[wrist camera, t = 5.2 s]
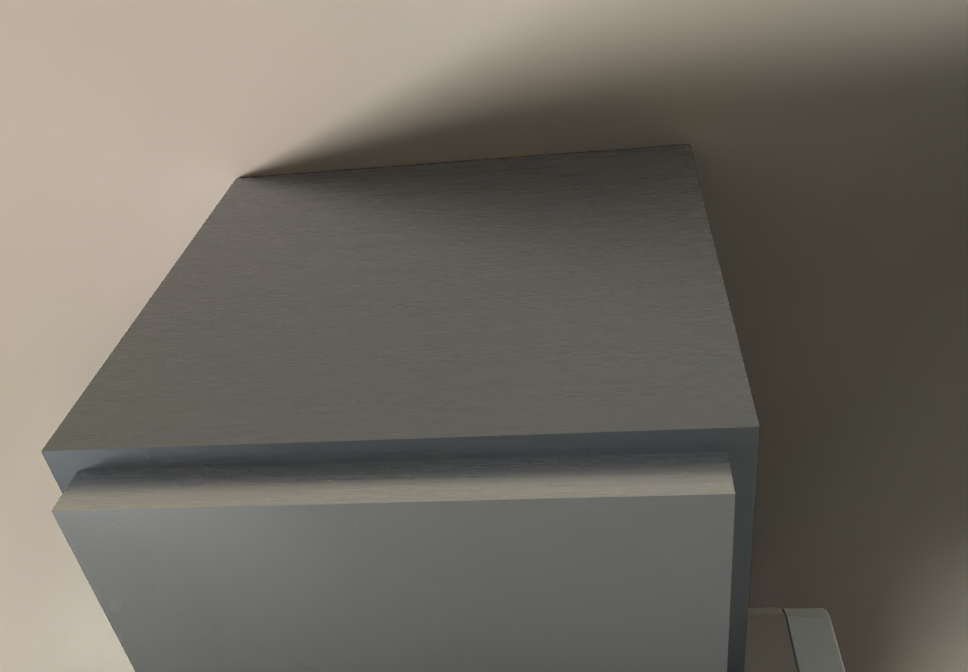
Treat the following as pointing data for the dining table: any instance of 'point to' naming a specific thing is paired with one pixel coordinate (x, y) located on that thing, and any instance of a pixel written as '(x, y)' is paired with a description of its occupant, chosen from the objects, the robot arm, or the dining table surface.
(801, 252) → the dining table surface
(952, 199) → the dining table surface
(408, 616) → the block
